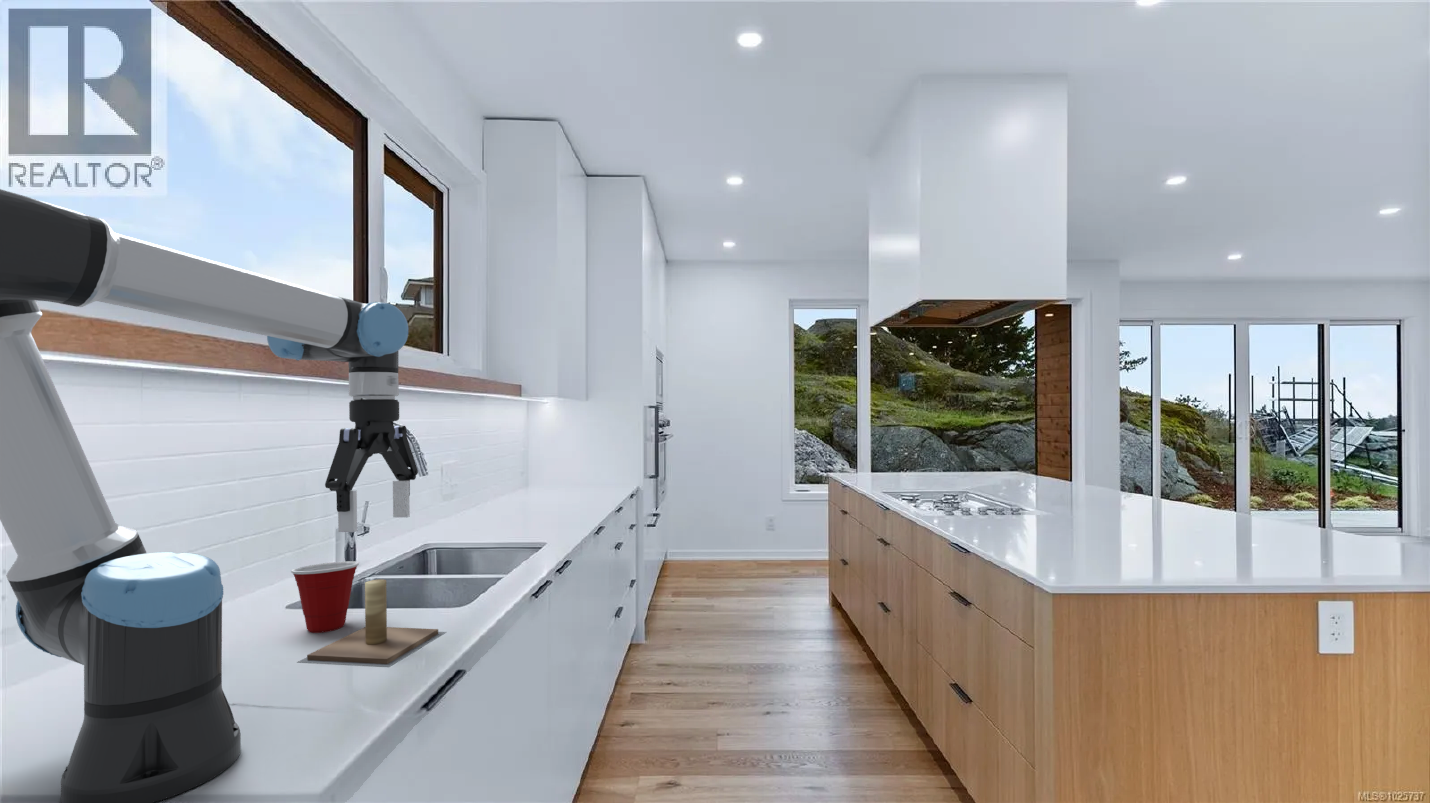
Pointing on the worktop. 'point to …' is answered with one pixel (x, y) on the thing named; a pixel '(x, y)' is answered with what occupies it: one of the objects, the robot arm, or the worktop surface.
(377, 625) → the walnut lid
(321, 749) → the worktop surface
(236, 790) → the worktop surface
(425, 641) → the charcoal mat
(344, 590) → the plastic cup
